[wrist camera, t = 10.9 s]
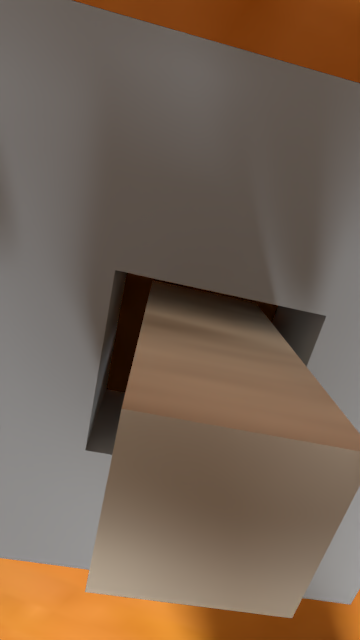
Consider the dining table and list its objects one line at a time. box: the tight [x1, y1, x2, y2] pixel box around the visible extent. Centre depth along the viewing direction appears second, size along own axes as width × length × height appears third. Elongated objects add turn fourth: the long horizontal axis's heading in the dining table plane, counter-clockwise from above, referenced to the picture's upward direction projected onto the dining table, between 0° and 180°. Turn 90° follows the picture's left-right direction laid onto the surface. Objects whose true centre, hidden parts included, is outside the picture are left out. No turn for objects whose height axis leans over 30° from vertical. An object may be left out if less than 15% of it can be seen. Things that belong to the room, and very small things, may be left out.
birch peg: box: [85, 281, 360, 618], centre depth 11 cm, size 4×4×9 cm
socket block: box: [0, 0, 360, 604], centre depth 13 cm, size 18×18×4 cm
